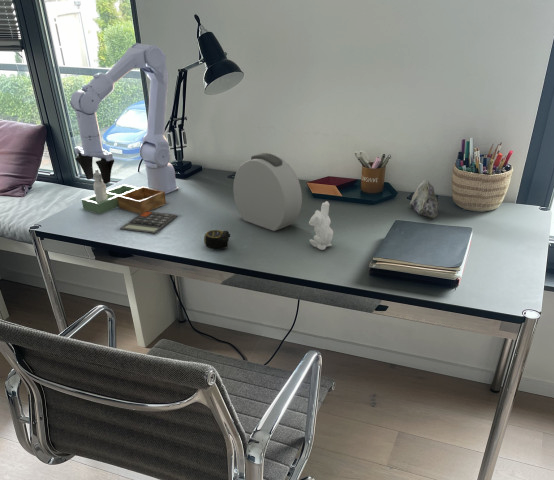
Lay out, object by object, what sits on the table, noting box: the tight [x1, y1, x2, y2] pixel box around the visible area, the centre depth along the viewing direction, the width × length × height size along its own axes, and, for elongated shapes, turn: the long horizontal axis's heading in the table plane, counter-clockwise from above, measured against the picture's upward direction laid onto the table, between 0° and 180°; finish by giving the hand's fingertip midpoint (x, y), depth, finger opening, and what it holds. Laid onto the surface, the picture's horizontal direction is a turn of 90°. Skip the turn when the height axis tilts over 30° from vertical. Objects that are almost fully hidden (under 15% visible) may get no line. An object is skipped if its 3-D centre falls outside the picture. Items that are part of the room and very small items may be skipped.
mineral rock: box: [409, 179, 439, 219], centre depth 173 cm, size 13×11×10 cm
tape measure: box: [203, 229, 231, 250], centre depth 155 cm, size 7×7×4 cm
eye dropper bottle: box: [92, 168, 108, 202], centre depth 178 cm, size 4×6×12 cm
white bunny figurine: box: [308, 200, 334, 251], centre depth 152 cm, size 8×7×12 cm
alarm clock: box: [232, 152, 303, 232], centre depth 165 cm, size 21×8×20 cm, turn 47°
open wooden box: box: [117, 185, 167, 215], centre depth 181 cm, size 11×10×4 cm
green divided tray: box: [81, 183, 139, 215], centre depth 183 cm, size 18×8×3 cm, turn 147°
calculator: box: [119, 211, 178, 235], centre depth 171 cm, size 12×1×15 cm
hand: (98, 180), depth 176 cm, fingers open, 7 cm apart
